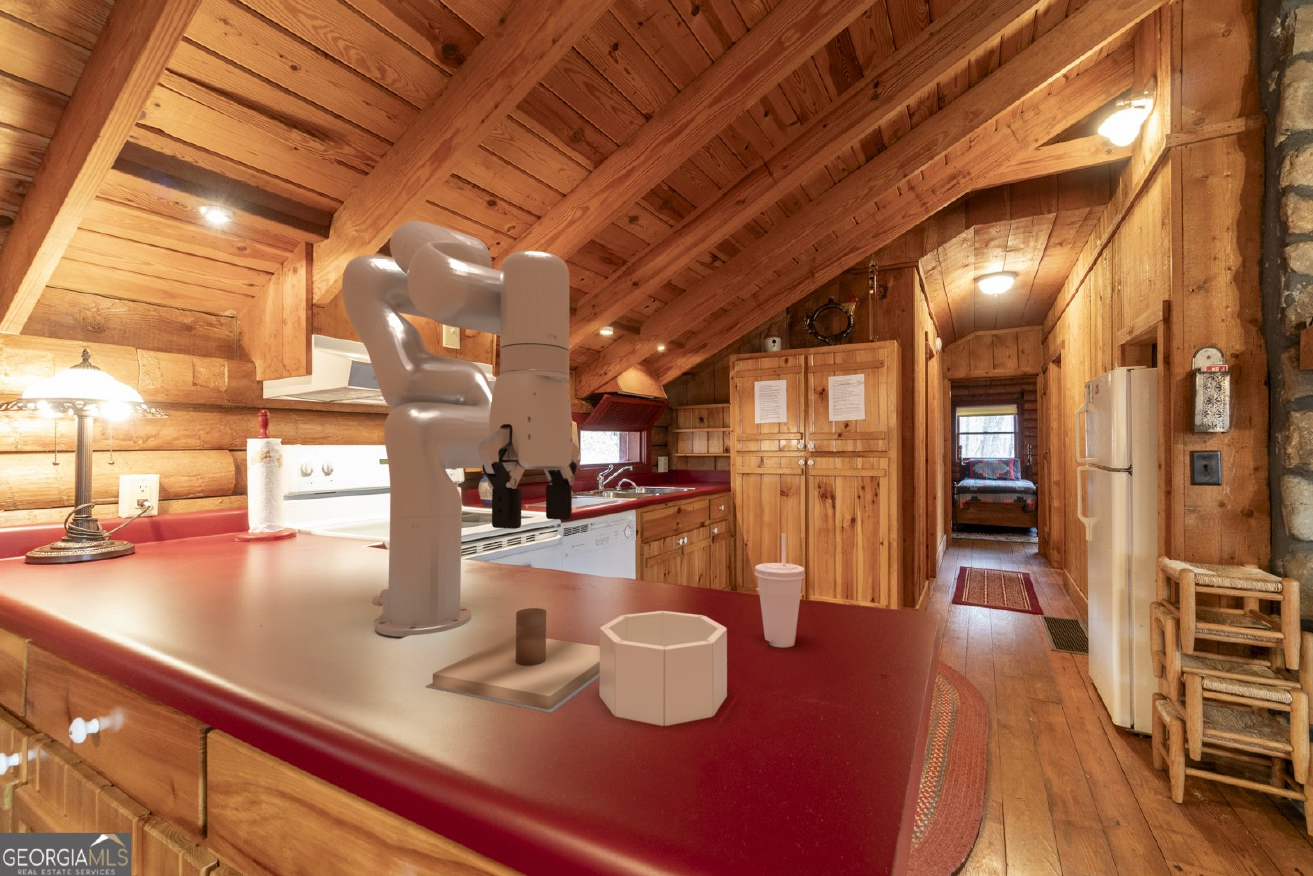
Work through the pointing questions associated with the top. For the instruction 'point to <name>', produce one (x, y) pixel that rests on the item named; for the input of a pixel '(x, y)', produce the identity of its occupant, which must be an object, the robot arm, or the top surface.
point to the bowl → (663, 667)
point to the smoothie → (780, 599)
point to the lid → (524, 666)
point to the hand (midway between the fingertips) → (534, 523)
